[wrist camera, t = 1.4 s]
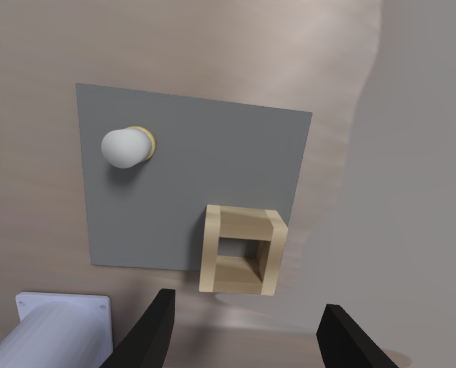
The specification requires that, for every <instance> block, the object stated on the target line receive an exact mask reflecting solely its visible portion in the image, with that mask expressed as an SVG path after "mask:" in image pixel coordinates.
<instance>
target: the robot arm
mask: <svg viewBox="0 0 456 368" xmlns="http://www.w3.org/2000/svg"><path fill="white" fill-rule="evenodd" d="M16 303H17V307H18V312H19V317H20V321H21V322H20V323H19V324H18V325H17V326H16V327H15V328H14V329H13V331H12V332H11V333H10V334H9V335H8V336H7V337H6V338H5V339H4V340H3V341H2V342H1V343H0V368H162V366H163V363H164V360H165V357H166V354H167V351H168V347H169V343H170V339H171V334H172V330H173V325H174V317H175V290H173V289H163V288H162V289H161V290H160V291H159V293H158V294H157V296H156V297H155V299H154V300H153V302H152V303H151V304H150V306H149V307H148V309H147V310H146V311H145V313H144V314H143V315H142V317H141V318H140V319H139V321H138V322H137V323H136V324H135V326H134V327H133V328H132V330H131V331H130V332H129V333H128V335H127V336H126V337H125V338H124V339H123V341H122V342H121V343H120V344H119V345H118V346H117V348H116V349H115V350H114V351H113V342H112V325H111V307H110V299H109V298H108V297H107V296H97V295H78V294H58V293H38V292H20V293H19V294H18V295H17V296H16ZM103 305H104V306H103ZM316 336H317V340H318V344H319V348H320V351H321V355H322V359H323V362H324V365H325V367H326V368H399V367H398V366H397V365H396V364H395V363H394V362H393V361H392V360H391V359H390V358H389V357H388V356H387V355H386V354H385V353H384V352H383V351H382V350H381V349H380V348H379V347H378V346H377V345H376V344H375V343H374V342H373V341H372V340H371V338H370V337H369V336H368V335H367V334H366V333H365V332H364V331H363V330H362V329H361V328H360V327H359V325H358V324H357V323H356V322H355V321H354V320H353V319H352V318H351V317H350V316H349V315H348V314H347V313H346V312H345V310H344V309H343V308H342V307H341V306H340V305H333V304H327V305H326V308H325V310H324V313H323V316H322V319H321V322H320V325H319V328H318V330H317V333H316Z"/></svg>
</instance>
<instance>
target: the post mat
mask: <svg viewBox="0 0 456 368" xmlns="http://www.w3.org/2000/svg"><path fill="white" fill-rule="evenodd" d="M76 92H77V104H78V116H79V128H80V140H81V152H82V164H83V175H84V187H85V199H86V211H87V223H88V235H89V246H90V258H91V264H92V265H108V266H124V267H141V268H157V269H173V270H189V271H201V263H202V252H203V241H204V231H205V220H206V211H207V205H218V206H230V207H241V208H253V209H265V210H276V211H277V212H278V214H279V215H280V217H281V218H282V220H283V221H284V223H285V224H286V226H287V228H288V223H289V218H290V214H291V209H292V205H293V200H294V195H295V191H296V186H297V182H298V177H299V172H300V168H301V163H302V159H303V154H304V149H305V145H306V140H307V136H308V131H309V126H310V122H311V117H312V112H304V111H296V110H288V109H280V108H272V107H264V106H256V105H248V104H240V103H232V102H224V101H216V100H209V99H201V98H193V97H185V96H177V95H169V94H161V93H153V92H145V91H137V90H129V89H121V88H113V87H105V86H97V85H89V84H81V83H76ZM258 243H259V240H254V239H240V238H227V237H219V241H218V250H217V256H232V257H246V258H256V254H257V249H258Z"/></svg>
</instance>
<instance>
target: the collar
mask: <svg viewBox="0 0 456 368" xmlns="http://www.w3.org/2000/svg"><path fill="white" fill-rule="evenodd" d="M287 233H288V228H287V226H286V224H285V223H284V221H283V220H282V218H281V217H280V215H279V214H278V212H277V211H276V210H265V209H253V208H241V207H230V206H218V205H207V211H206V220H205V231H204V241H203V252H202V263H201V274H200V285H199V291H201V292H220V293H238V294H257V295H274V292H275V288H276V283H277V279H278V274H279V270H280V265H281V260H282V256H283V251H284V247H285V242H286V238H287ZM219 237H227V238H240V239H254V240H259V243H258V249H257V254H256V258H246V257H232V256H217V250H218V241H219Z"/></svg>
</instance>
